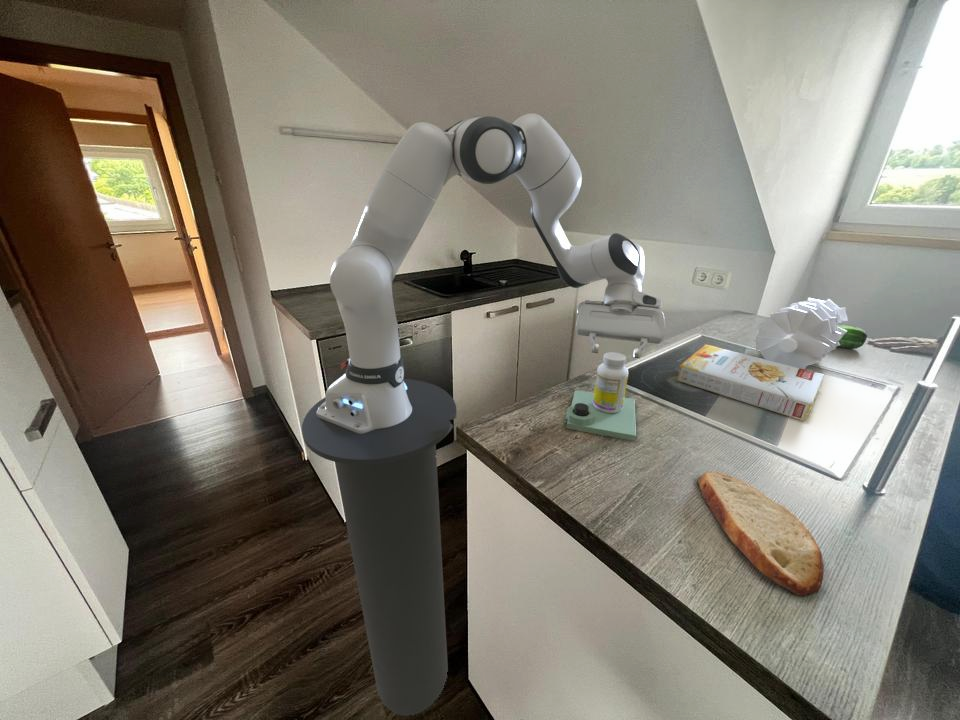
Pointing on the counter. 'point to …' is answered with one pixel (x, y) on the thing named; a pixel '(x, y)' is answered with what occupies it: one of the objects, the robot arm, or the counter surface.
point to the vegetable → (852, 337)
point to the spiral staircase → (801, 333)
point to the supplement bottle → (611, 383)
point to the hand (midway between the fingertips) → (615, 354)
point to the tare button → (581, 409)
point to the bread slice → (765, 533)
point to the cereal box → (753, 380)
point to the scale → (603, 418)
